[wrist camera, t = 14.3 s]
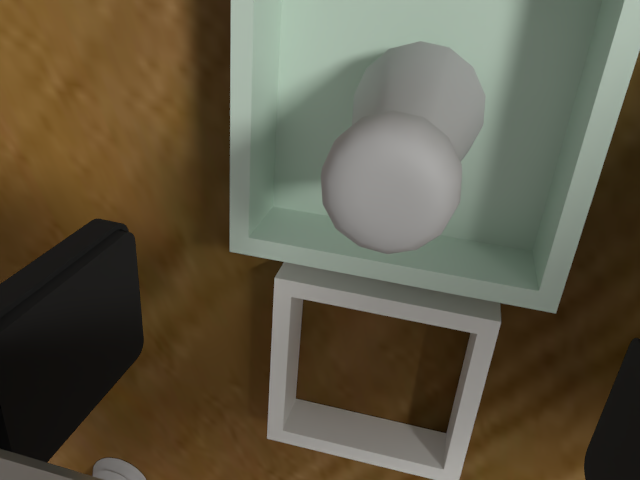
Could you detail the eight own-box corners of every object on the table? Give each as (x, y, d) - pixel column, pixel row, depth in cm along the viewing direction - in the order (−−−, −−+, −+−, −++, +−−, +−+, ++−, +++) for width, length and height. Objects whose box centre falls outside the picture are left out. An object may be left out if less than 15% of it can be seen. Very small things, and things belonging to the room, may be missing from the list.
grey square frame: (499, 291, 33) (501, 322, 30) (459, 448, 38) (457, 485, 36) (290, 252, 35) (274, 277, 32) (280, 406, 40) (266, 438, 38)
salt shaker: (447, 174, 30) (426, 317, 19) (344, 124, 30) (262, 236, 19) (509, 66, 27) (529, 158, 16) (395, 11, 27) (333, 63, 16)
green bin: (647, -76, 24) (680, -79, 20) (546, 266, 31) (556, 313, 27) (268, -106, 27) (231, -113, 23) (258, 215, 34) (229, 251, 30)
